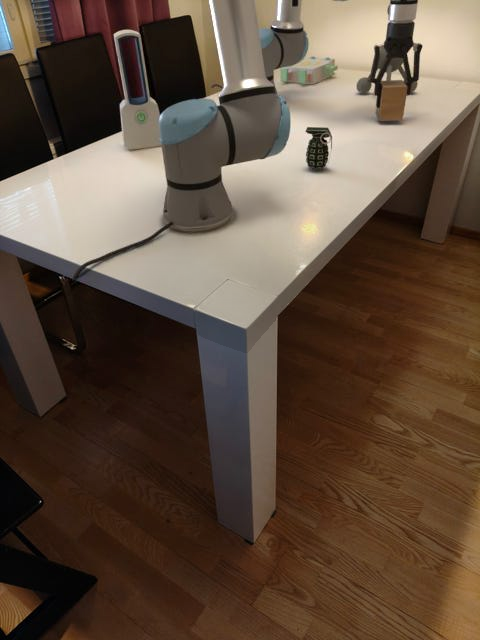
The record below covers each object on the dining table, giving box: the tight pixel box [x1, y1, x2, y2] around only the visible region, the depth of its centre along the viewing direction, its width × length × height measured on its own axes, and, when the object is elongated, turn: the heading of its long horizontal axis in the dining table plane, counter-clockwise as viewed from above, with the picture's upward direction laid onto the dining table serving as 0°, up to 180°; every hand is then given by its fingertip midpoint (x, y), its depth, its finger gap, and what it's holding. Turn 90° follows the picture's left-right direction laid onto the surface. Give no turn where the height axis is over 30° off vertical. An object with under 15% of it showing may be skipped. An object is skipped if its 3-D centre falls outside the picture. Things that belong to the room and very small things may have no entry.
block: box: [375, 79, 407, 122], centre depth 152 cm, size 9×7×10 cm
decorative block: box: [280, 56, 338, 85], centre depth 206 cm, size 26×6×20 cm
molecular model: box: [356, 3, 418, 95], centre depth 169 cm, size 24×22×30 cm
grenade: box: [305, 126, 333, 171], centre depth 123 cm, size 7×6×10 cm
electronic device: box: [113, 29, 161, 151], centre depth 140 cm, size 12×8×30 cm, turn 105°
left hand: (347, 3), depth 63 cm, fingers open, 13 cm apart
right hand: (390, 106), depth 153 cm, fingers closed on block, 7 cm apart
